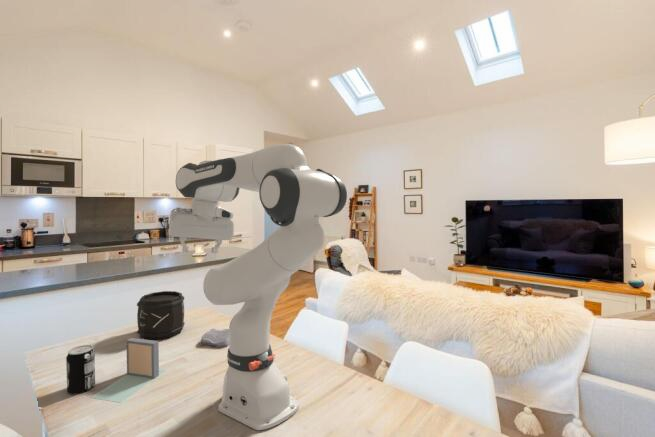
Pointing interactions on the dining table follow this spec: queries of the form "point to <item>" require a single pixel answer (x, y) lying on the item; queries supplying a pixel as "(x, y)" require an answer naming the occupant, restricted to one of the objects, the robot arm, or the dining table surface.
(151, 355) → the slate tile
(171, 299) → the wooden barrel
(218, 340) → the stone block
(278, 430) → the dining table surface
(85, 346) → the beverage can
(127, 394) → the mat
